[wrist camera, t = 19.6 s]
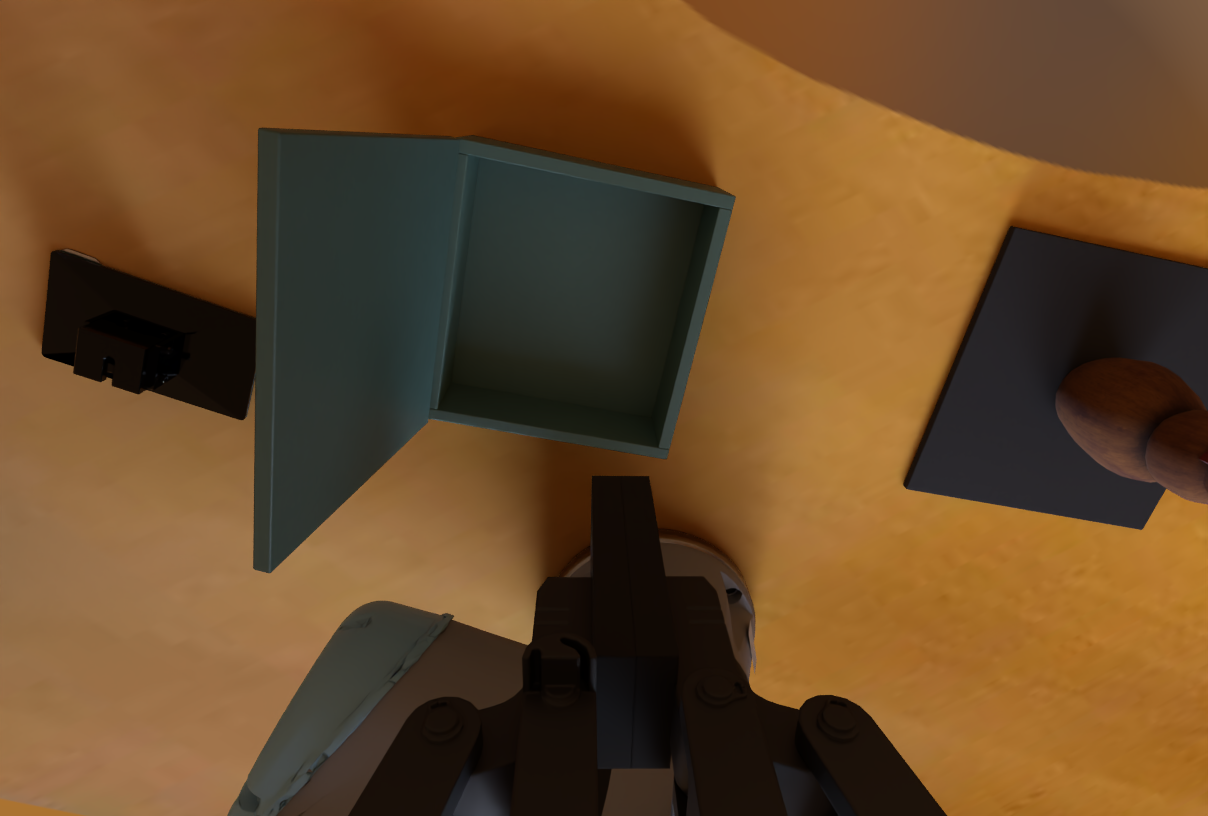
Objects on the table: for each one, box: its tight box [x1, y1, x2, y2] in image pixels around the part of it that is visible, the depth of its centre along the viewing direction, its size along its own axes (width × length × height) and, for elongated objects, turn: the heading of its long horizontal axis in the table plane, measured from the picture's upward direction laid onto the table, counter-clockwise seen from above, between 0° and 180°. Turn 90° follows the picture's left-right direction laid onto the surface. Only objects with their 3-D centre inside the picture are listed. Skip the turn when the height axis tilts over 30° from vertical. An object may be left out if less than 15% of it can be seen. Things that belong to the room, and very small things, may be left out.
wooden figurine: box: [1055, 358, 1208, 504], centre depth 38 cm, size 7×6×15 cm
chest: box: [428, 135, 736, 459], centre depth 40 cm, size 14×15×5 cm
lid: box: [253, 128, 460, 573], centre depth 30 cm, size 15×15×1 cm
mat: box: [903, 226, 1208, 530], centre depth 46 cm, size 18×18×1 cm
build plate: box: [42, 249, 256, 420], centre depth 41 cm, size 12×7×5 cm, turn 69°
